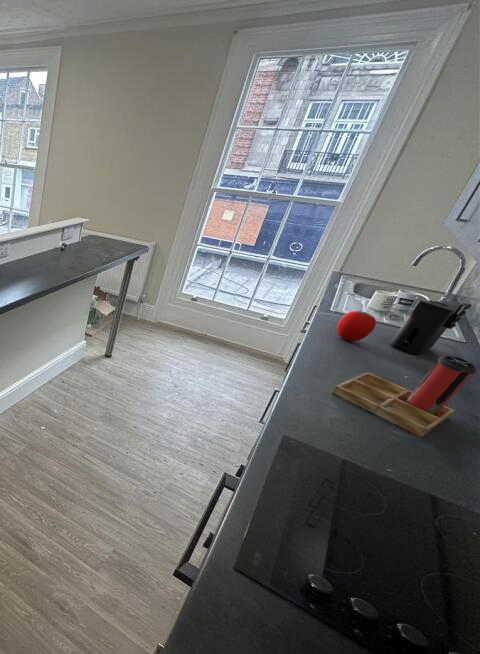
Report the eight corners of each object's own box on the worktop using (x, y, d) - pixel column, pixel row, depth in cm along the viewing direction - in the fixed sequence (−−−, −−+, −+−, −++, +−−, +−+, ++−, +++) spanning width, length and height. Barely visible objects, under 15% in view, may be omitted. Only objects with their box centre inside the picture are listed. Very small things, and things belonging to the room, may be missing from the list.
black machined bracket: (385, 345, 166) (421, 296, 155) (404, 337, 175) (439, 290, 164) (422, 359, 157) (463, 309, 146) (440, 350, 167) (479, 301, 155)
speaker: (414, 415, 122) (456, 365, 112) (395, 400, 128) (434, 352, 119) (442, 419, 121) (487, 370, 112) (422, 404, 127) (463, 356, 118)
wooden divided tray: (448, 418, 123) (455, 410, 122) (420, 437, 113) (428, 429, 112) (361, 379, 140) (367, 371, 138) (331, 393, 130) (336, 385, 128)
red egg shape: (334, 330, 175) (350, 304, 168) (365, 341, 168) (384, 313, 161) (327, 337, 168) (345, 309, 162) (360, 348, 161) (379, 320, 155)
